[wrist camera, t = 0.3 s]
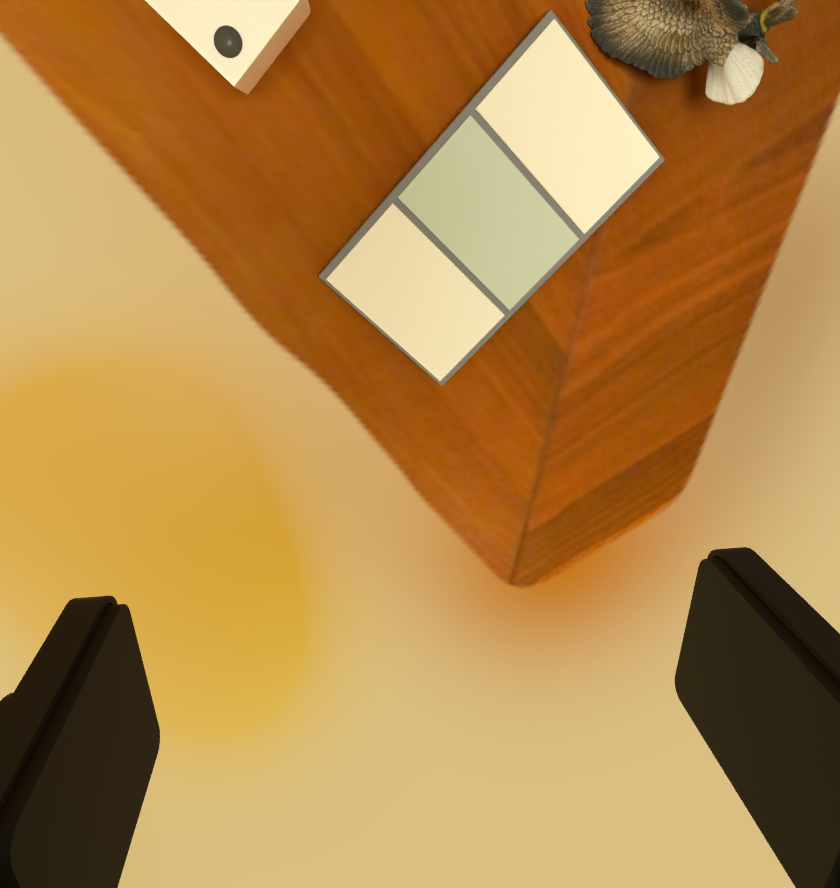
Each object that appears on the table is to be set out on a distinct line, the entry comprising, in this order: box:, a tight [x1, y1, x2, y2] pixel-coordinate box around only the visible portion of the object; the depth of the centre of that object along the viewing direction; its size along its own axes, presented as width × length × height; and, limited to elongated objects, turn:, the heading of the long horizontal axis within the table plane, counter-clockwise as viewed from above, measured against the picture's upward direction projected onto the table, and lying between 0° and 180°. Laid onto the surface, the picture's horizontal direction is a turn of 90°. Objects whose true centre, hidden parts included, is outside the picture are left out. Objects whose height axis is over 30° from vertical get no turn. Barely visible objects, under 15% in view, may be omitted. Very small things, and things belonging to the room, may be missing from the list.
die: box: [145, 0, 311, 95], centre depth 29 cm, size 5×5×5 cm
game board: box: [319, 10, 665, 386], centre depth 36 cm, size 18×10×1 cm, turn 136°
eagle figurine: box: [585, 0, 798, 105], centre depth 31 cm, size 8×7×9 cm
